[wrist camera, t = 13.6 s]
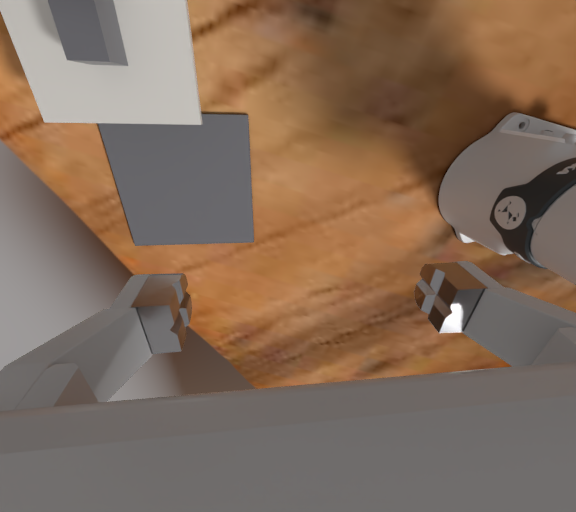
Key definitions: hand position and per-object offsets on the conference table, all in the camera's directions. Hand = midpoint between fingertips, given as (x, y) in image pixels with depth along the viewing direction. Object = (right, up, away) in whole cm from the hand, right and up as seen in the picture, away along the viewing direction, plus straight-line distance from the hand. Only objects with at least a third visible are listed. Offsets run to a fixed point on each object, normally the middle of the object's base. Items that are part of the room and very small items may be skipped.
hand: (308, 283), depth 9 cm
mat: (-14, +10, +26) cm, 31 cm away
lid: (-16, +20, +13) cm, 29 cm away
